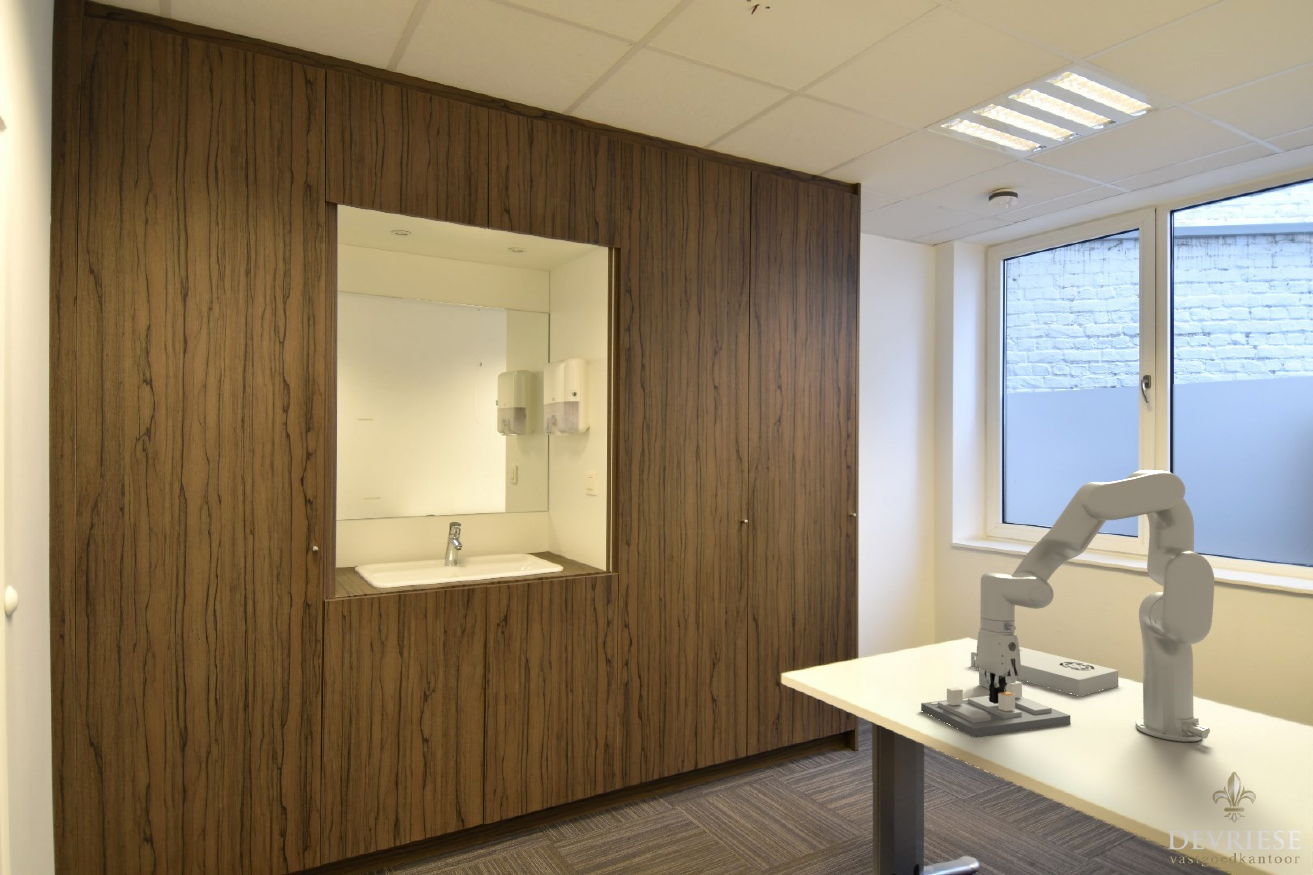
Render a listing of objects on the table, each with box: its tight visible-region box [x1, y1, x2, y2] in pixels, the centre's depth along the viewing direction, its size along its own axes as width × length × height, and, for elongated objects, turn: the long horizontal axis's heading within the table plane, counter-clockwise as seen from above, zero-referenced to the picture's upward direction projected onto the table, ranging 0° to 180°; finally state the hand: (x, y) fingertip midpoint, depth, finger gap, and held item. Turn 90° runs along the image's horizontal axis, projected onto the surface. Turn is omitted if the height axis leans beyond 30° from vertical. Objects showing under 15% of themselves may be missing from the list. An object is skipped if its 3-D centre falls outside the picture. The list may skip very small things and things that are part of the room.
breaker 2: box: [1005, 680, 1023, 698], centre depth 186 cm, size 2×3×4 cm, turn 109°
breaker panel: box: [920, 694, 1071, 738], centre depth 180 cm, size 18×28×3 cm, turn 109°
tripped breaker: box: [998, 691, 1015, 711], centre depth 176 cm, size 2×3×4 cm, turn 109°
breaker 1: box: [946, 686, 964, 705], centre depth 180 cm, size 2×3×4 cm, turn 109°
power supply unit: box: [970, 646, 1119, 697], centre depth 216 cm, size 19×33×5 cm, turn 30°
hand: (996, 702), depth 179 cm, fingers closed
